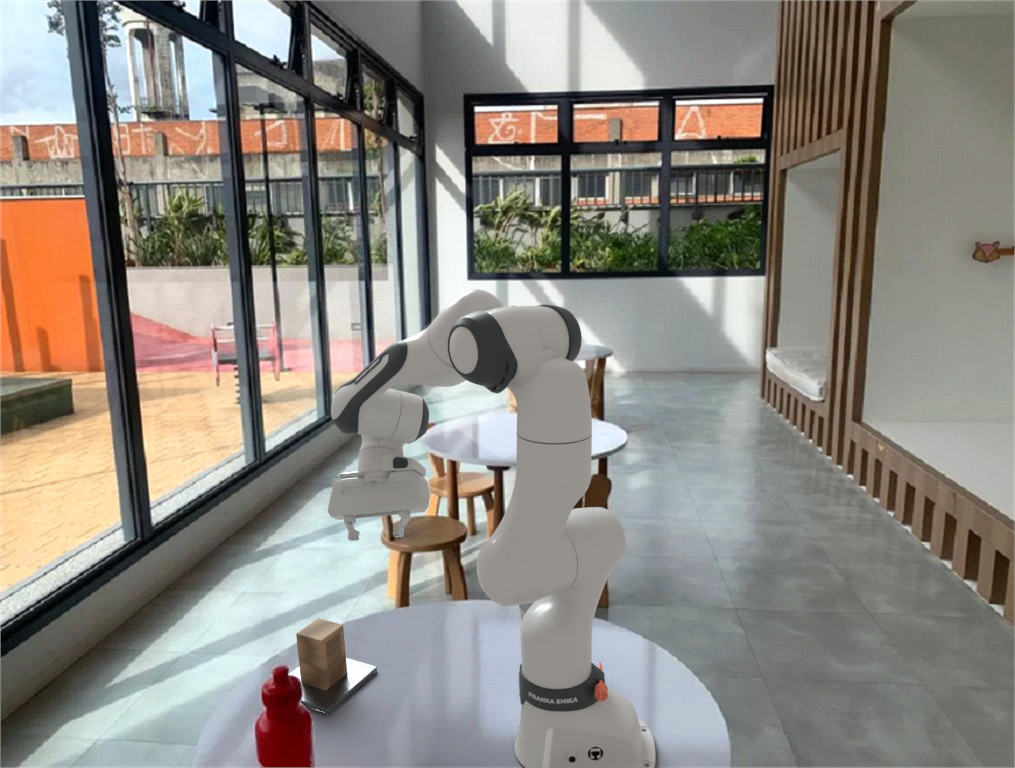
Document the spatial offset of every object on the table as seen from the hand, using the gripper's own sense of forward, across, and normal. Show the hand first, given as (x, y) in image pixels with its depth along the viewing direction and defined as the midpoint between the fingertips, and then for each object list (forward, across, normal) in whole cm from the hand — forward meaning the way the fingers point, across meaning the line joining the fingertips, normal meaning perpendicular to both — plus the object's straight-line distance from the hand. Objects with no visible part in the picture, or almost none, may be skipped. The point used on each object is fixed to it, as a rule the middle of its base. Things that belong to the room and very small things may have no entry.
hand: (375, 538), depth 135 cm
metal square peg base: (+25, -13, +8) cm, 29 cm away
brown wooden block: (+24, -12, +7) cm, 28 cm away
